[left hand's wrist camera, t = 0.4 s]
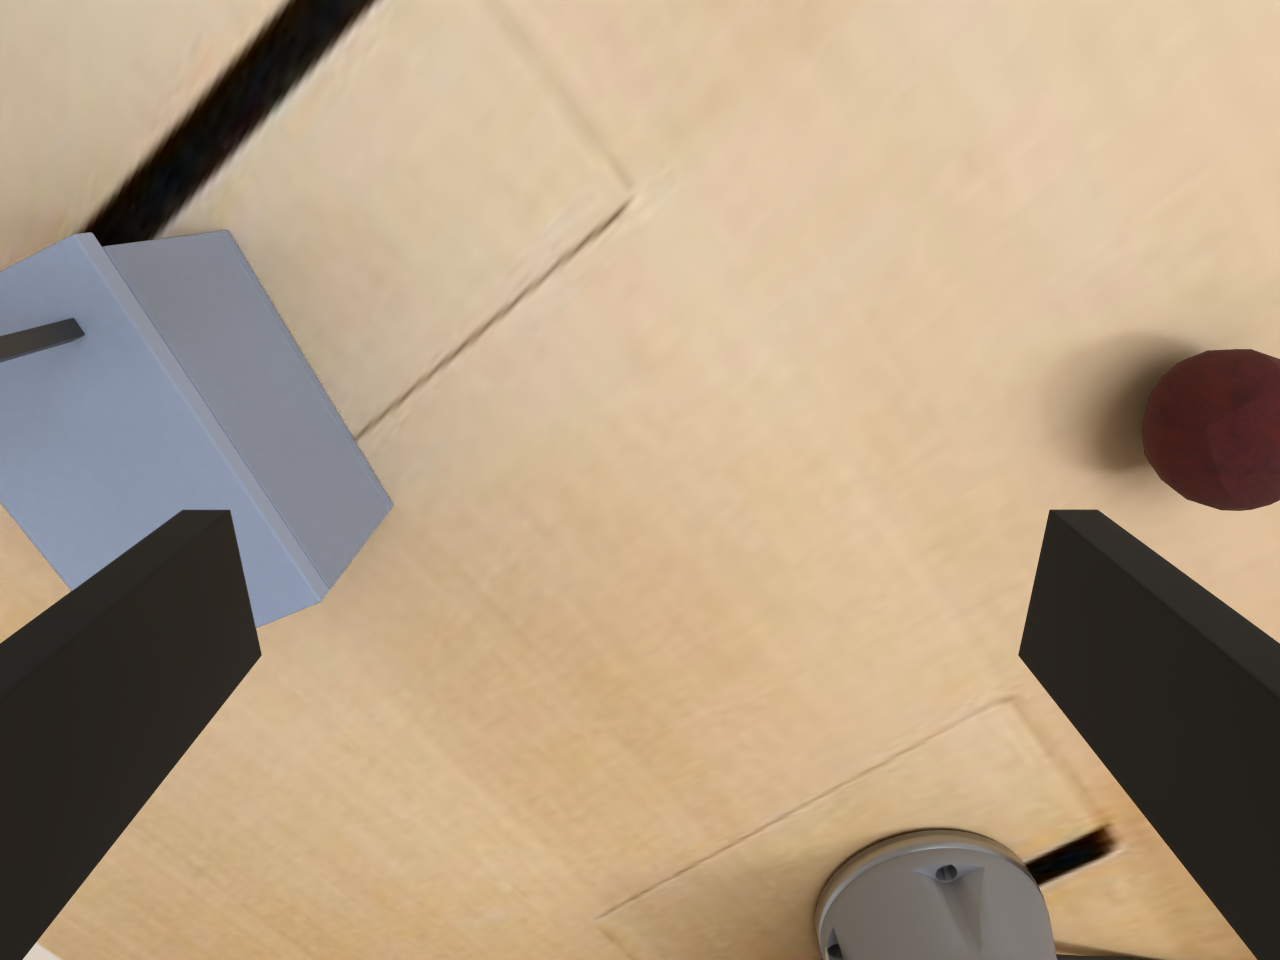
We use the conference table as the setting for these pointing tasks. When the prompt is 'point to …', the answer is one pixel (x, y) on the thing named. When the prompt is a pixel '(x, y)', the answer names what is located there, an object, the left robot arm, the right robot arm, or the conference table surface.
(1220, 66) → the conference table surface
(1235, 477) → the dark brown ball
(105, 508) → the lid
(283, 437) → the chest
